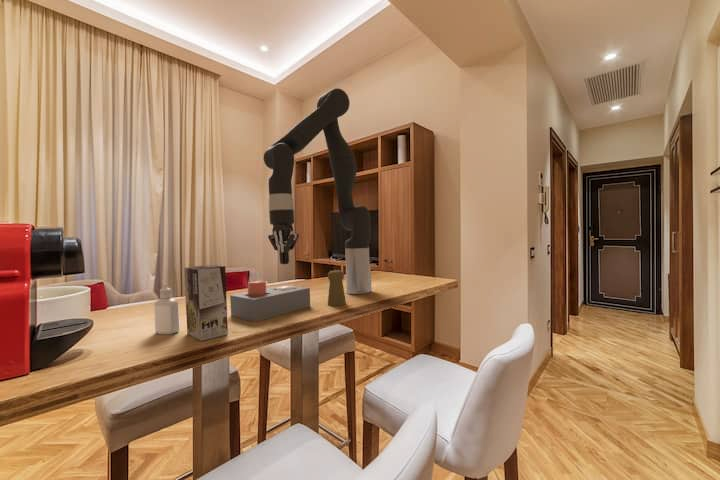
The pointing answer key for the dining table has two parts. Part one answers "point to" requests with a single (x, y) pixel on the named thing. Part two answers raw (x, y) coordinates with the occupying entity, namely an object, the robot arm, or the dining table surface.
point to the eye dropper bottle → (166, 313)
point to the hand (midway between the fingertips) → (284, 263)
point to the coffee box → (206, 301)
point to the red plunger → (256, 288)
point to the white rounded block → (284, 288)
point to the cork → (336, 288)
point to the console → (269, 303)
